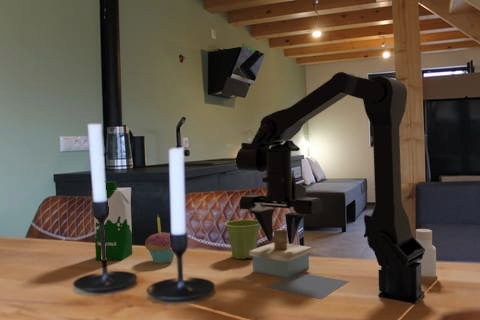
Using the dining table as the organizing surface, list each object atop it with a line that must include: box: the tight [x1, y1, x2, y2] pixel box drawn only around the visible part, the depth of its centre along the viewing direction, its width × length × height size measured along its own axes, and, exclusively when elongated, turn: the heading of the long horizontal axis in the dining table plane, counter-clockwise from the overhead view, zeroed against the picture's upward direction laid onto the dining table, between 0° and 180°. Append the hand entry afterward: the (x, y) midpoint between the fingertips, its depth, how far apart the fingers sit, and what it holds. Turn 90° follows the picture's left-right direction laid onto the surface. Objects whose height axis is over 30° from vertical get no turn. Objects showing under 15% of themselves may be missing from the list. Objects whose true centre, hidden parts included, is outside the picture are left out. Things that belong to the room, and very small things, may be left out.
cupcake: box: [144, 215, 175, 264], centre depth 110 cm, size 9×8×12 cm
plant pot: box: [224, 219, 261, 260], centre depth 111 cm, size 9×9×9 cm
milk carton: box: [91, 180, 133, 261], centre depth 115 cm, size 9×9×20 cm
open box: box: [252, 253, 310, 278], centre depth 98 cm, size 9×9×4 cm
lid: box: [249, 229, 313, 262], centre depth 97 cm, size 10×10×5 cm
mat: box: [265, 272, 350, 300], centre depth 87 cm, size 12×12×1 cm
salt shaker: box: [415, 228, 437, 278], centre depth 91 cm, size 4×4×10 cm
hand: (280, 242), depth 97 cm, fingers open, 5 cm apart
